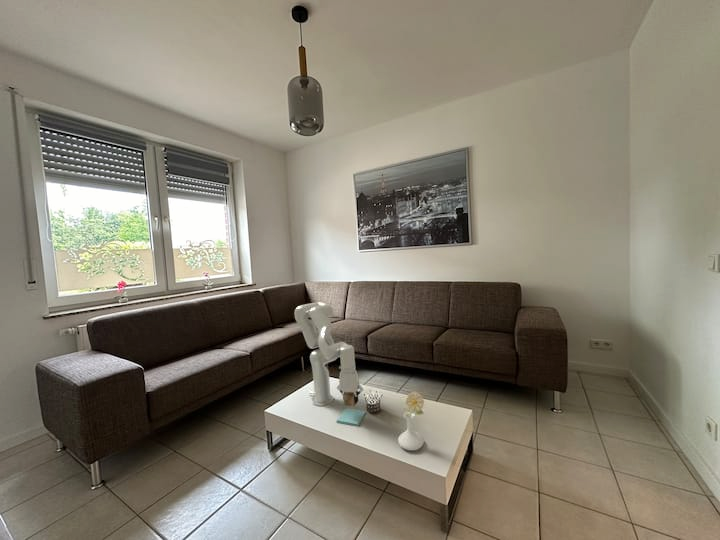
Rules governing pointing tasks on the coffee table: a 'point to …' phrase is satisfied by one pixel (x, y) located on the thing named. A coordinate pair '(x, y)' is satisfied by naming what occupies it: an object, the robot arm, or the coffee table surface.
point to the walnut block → (349, 399)
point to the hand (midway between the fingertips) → (350, 401)
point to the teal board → (351, 417)
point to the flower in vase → (410, 437)
